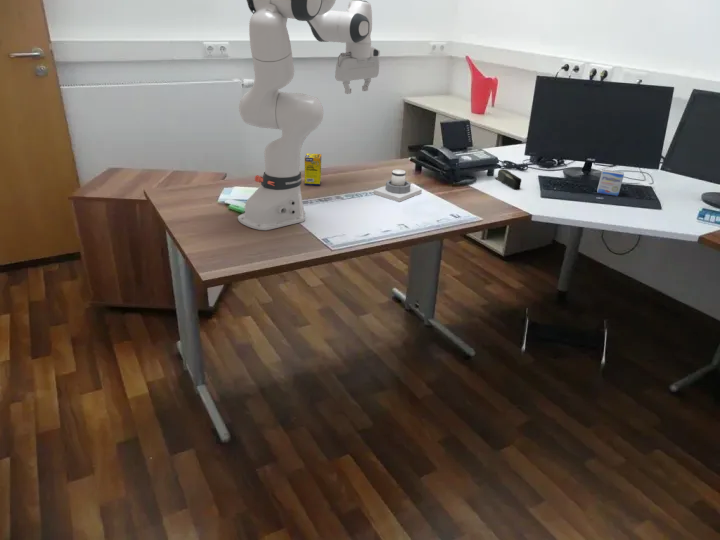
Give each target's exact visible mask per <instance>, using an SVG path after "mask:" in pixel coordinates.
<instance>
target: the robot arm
mask: <svg viewBox="0 0 720 540" xmlns="http://www.w3.org/2000/svg"><path fill="white" fill-rule="evenodd" d="M336 1H337V0H246V2H247V6H248V9H249V11H250V12H251V13H252V15H251V16H250V18H249V23H248V24H249V29H248V30H249V31H248V32H249V33H248V34H249V45H250V52H251V58H252V63H253V71H254V83H253V85H252V86H251V88H250V89H249V90H248V91H246V92H245V93H244V94H243V95H242V97H241V98H240V100H239V104H238V109H239V110H238V111H239V116H240V117H241V119H242V121H243V122H244V123H245V124H246V125H250V126H253V127H256V128H260V129H271V130H279V131H281V137H279V138H277V139H274V140H272V141H271V142H269V143H268V144H267V145H266V147H265V148H264V152H263V153H264V172H263V175H262V176H260V175H255V176H254V181H255V182H257V183H260V185H259V187H257V189H256V190H255V192H253V194H252V195H251V196H250V197H249V198H248V199H247V200H246V202H245V206H244V207H245V208H244V213H241V214H240V215H238V216H237V220H238V222H239V223H240V224H242V225H244V226H246V227H248V228H252V229H254V230H257V231H258V230H259V231H270V230H274V229H277V228H282V227H286V226H290V225H295V224H298V223H303V222H305V221H306V219H305V216H306V212H305V209H304V204H303V198H302V190H301V184H302V172H301V167H300V166H301V152H302V147H303V144H304V143H305V140H306V139H307V137H308V136H309V135H310V134H311V133H312V132H314V131H315V130H316V129H318V128H319V126H321V124H322V121H323V118H324V109H323V106H322V103H321V101H320V100H319V99H318V97H316V96H312V95H308V94H305V93H299V92H286V91H285V92H284V91H280V90H281V89H283V88H284V87H286V86H287V85H288V84H290V83H291V81H293V78H294V76H295V67H294V60H293V51H292V44H291V41H290V35H289V32H288V31H289V30H288V27H287V22H288V19H293V20H296V21H299V22H306V23H307V25H309V27H310V30H311V33H312V35H313V37H314V38H315V40H316V41H318V42H322V43H323V42H324V43H325V42H326V43H327V42H331V43H332V42H333V43H341V44H342V43H344V44H345V52H340V54H339V55H338V56H337V59H336V60H337V61H336V64H335V71H334V73H335V75H334V77H335V80H336V81H338V82H342V84H343V85H342V86H343V87H344V93H345V94H346V95H351V93H352V88H350V85H349V84H351V82H352V81H358V80H363V81H364V83H363V85H362V86H361V90H362V92H368V91H369V86H370V84H371V82H372V78H377V77H378V76H379V72H380V58H379V57H380V55H381V51H380V50H379V49H377V48H375V47H373V46H372V39H371V33H372V30H373V11H372V5H371V3H370V2H369V1H366V0H350V1H349V2H348V5H347V6H348V7H347V9H346V10H331V9H332V8H333V7H334V6H335V3H336Z"/></svg>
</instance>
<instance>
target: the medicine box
mask: <svg viewBox="0 0 720 540" xmlns="http://www.w3.org/2000/svg"><path fill="white" fill-rule="evenodd" d="M600 173H601V174H600V178H599V181H598V186H597V189H596V191H597V192H596V193H597V194H602V195H609V196H615V197H618V196H619V194H620V191H621V187H622V183H623V180H624V177H625V174H624V171H623V172H622V171H617V170H616V171H615V170H611V169H602V170H601V172H600Z"/></svg>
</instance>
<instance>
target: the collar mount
mask: <svg viewBox="0 0 720 540" xmlns="http://www.w3.org/2000/svg"><path fill="white" fill-rule="evenodd" d="M391 180H392V179H388V180H386V182H385V185H383V186H381V187H378V188H375V189H373V192H372V193H373V195H375V196H378V197H379V196H380V197H382V198H386V199H389V200H391V199H392V201H394V200H395V202H397V201H398V203H400V202H403V201H406V200H407V199H410V197H411V198H414V197H415V195H416V196H417V195H420V193H421V194H422V190H423V189H422V188H418V187H414V186H412V185H411V182H409V181H408V180H405V186H393V185H391Z"/></svg>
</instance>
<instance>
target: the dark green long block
mask: <svg viewBox="0 0 720 540" xmlns="http://www.w3.org/2000/svg"><path fill="white" fill-rule="evenodd" d="M494 179H496V180H497V181H499V182H501V183H502V184H503V185H505V186H507V187H509V188H510V189H512V190H517V191H518V190H520V189H521V184H522V178H520V177H519V176H517V175H516V174H513V173H512V172H511V171H509V170H507V169H504V168H503V169H499V170H498V172H497V176H494Z"/></svg>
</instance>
